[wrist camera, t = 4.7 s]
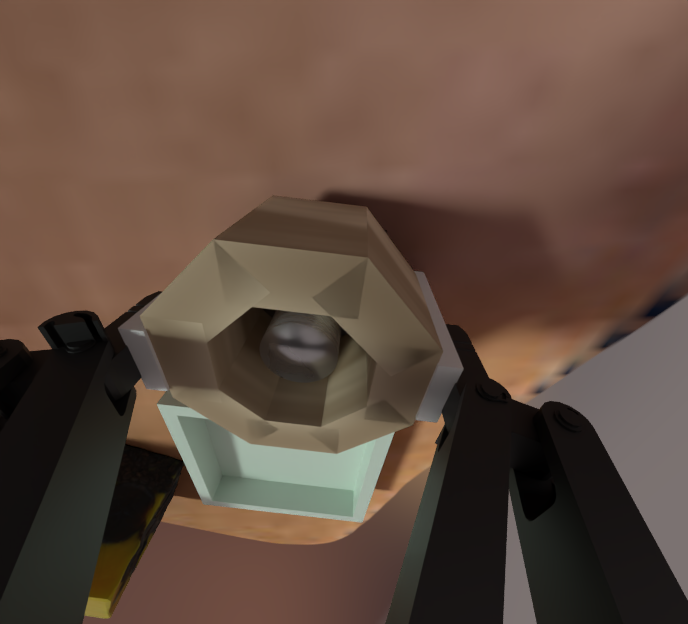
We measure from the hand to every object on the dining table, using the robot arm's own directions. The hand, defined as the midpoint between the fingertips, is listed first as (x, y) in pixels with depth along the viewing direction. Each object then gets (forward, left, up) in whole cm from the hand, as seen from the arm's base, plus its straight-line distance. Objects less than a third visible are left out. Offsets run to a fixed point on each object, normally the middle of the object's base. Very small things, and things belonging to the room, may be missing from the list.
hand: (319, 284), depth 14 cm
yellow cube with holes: (+25, -19, -1) cm, 31 cm away
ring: (+1, 0, +1) cm, 2 cm away
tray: (+16, -2, -1) cm, 16 cm away
